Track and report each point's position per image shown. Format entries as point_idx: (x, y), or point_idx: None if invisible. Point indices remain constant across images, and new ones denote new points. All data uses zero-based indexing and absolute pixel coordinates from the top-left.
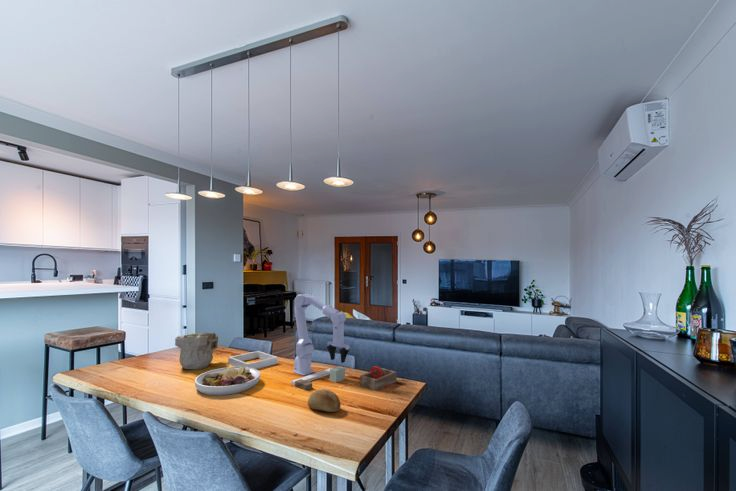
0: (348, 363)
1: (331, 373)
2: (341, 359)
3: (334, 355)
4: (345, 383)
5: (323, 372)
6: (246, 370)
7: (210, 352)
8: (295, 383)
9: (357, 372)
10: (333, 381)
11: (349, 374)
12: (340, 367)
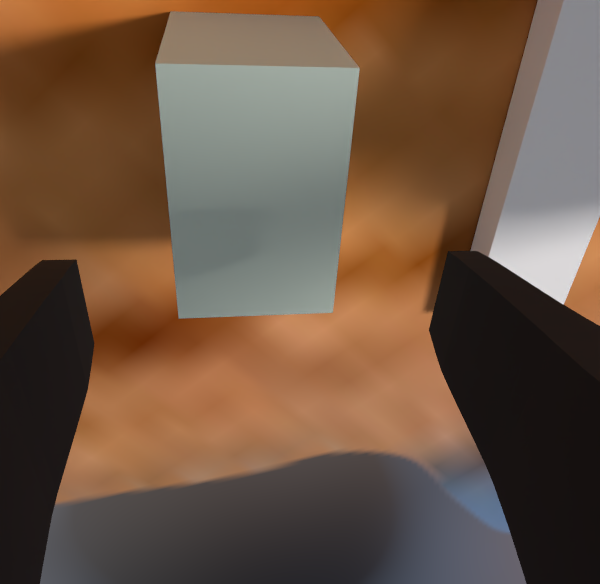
0: (487, 519)
1: (297, 45)
2: (13, 302)
3: (465, 399)
4: (24, 89)
5: (562, 144)
6: None
7: None
8: None
9: (245, 440)
10: (227, 13)
11: (269, 357)
12: (259, 279)
